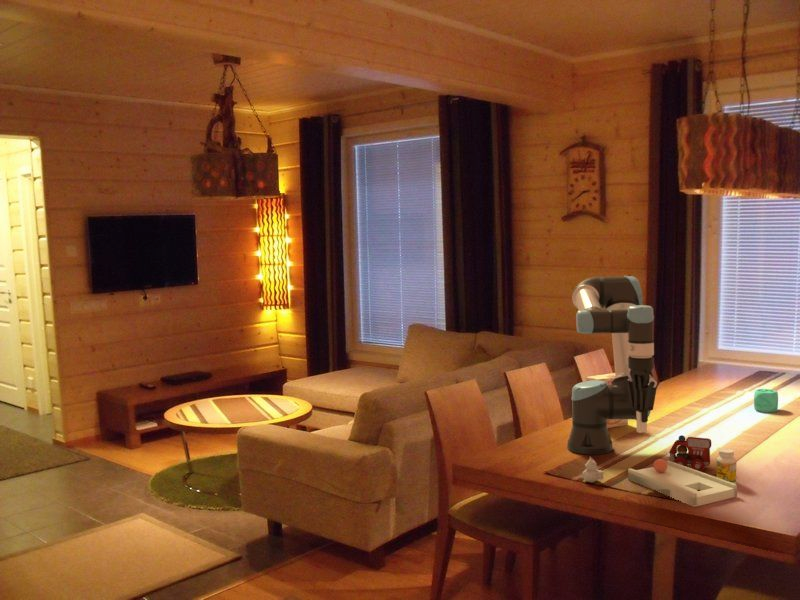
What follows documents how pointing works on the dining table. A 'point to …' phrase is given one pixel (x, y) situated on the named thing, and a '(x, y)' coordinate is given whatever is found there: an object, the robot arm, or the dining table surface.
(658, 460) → the ball
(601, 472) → the white figurine
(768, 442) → the dining table surface
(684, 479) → the board
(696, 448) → the toy fire truck
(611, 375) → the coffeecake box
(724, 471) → the supplement bottle
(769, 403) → the decorative dice
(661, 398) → the dining table surface
